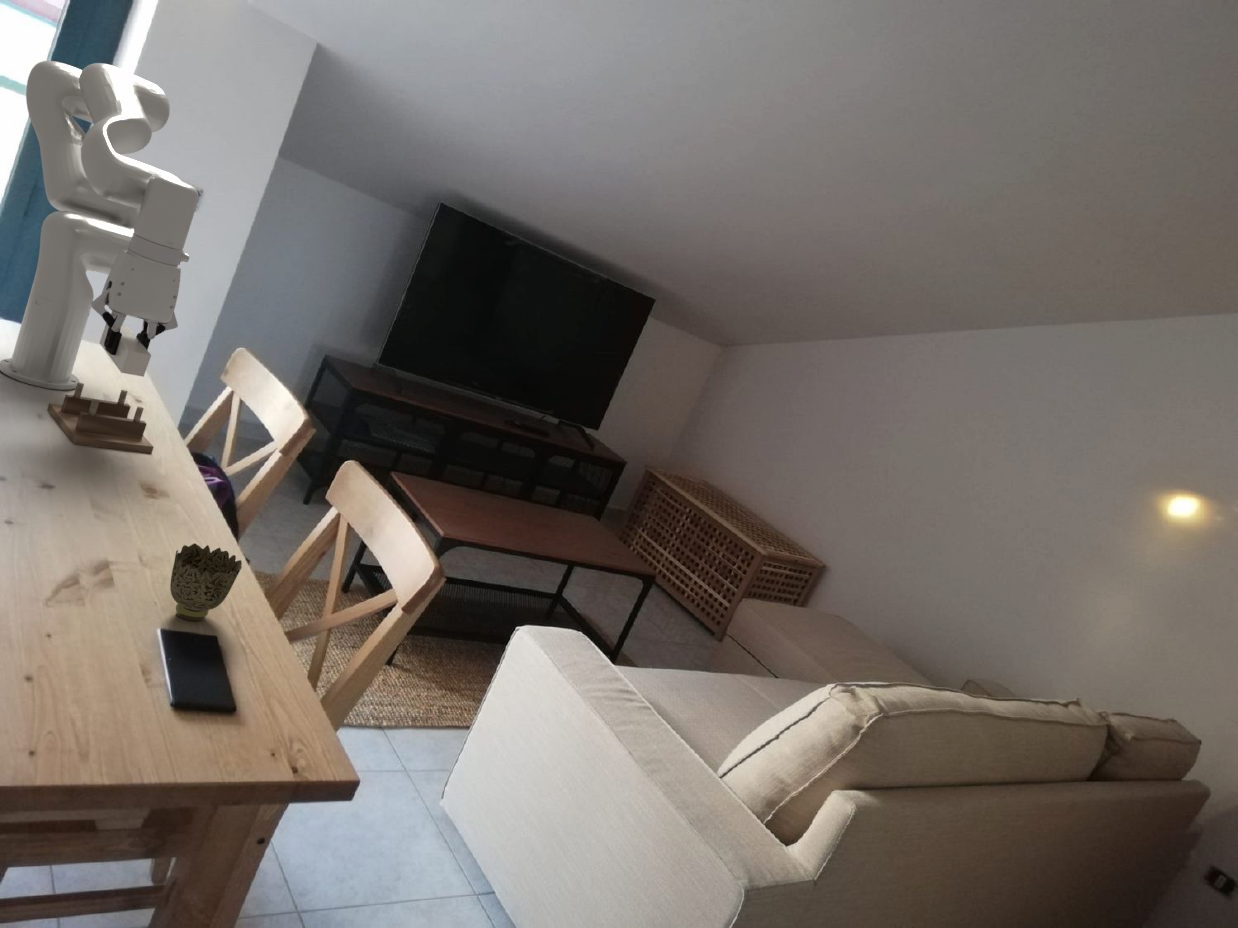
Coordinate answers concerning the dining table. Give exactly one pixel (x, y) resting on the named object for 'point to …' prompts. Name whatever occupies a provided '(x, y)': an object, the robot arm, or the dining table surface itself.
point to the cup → (201, 580)
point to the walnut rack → (101, 422)
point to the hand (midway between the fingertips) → (123, 354)
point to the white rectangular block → (128, 353)
